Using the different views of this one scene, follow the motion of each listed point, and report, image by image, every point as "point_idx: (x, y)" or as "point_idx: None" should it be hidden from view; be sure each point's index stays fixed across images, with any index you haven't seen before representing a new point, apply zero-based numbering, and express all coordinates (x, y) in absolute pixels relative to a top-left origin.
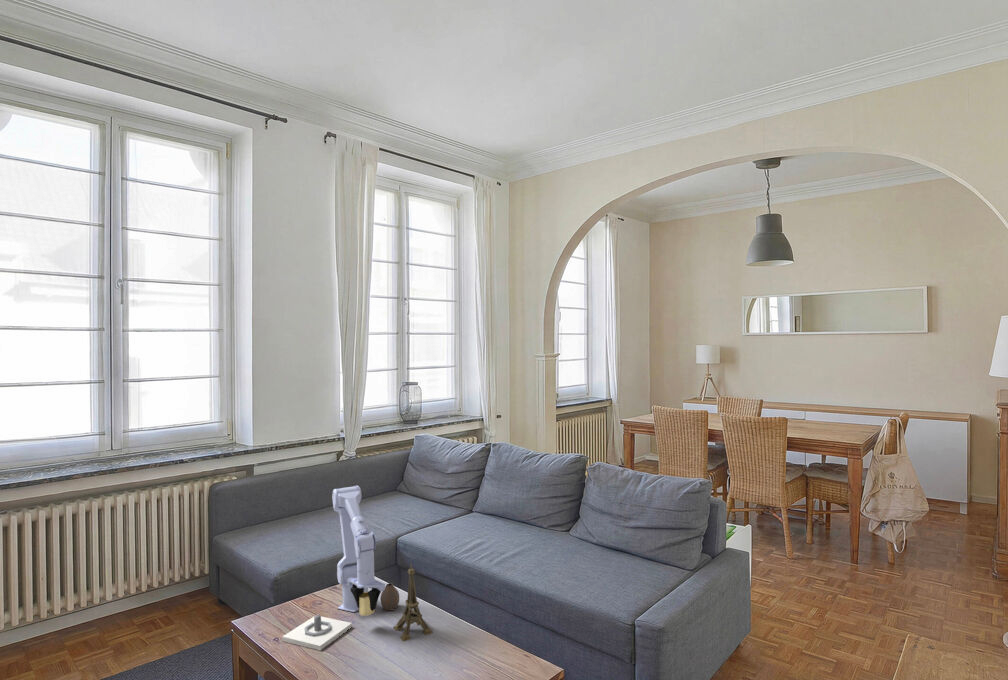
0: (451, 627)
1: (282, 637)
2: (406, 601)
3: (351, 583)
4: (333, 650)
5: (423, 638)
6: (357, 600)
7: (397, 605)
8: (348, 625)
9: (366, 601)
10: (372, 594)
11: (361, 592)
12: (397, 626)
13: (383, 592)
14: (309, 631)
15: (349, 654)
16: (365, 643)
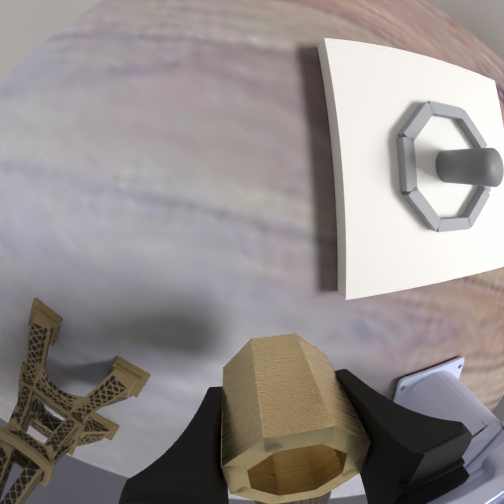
0: None
1: (492, 81)
2: (37, 462)
3: (483, 472)
4: (257, 69)
5: (11, 341)
6: (360, 400)
7: None
8: (346, 271)
9: (247, 422)
10: (130, 487)
11: (367, 467)
12: (113, 373)
13: (312, 498)
14: (461, 139)
15: (151, 81)
16: (149, 199)
